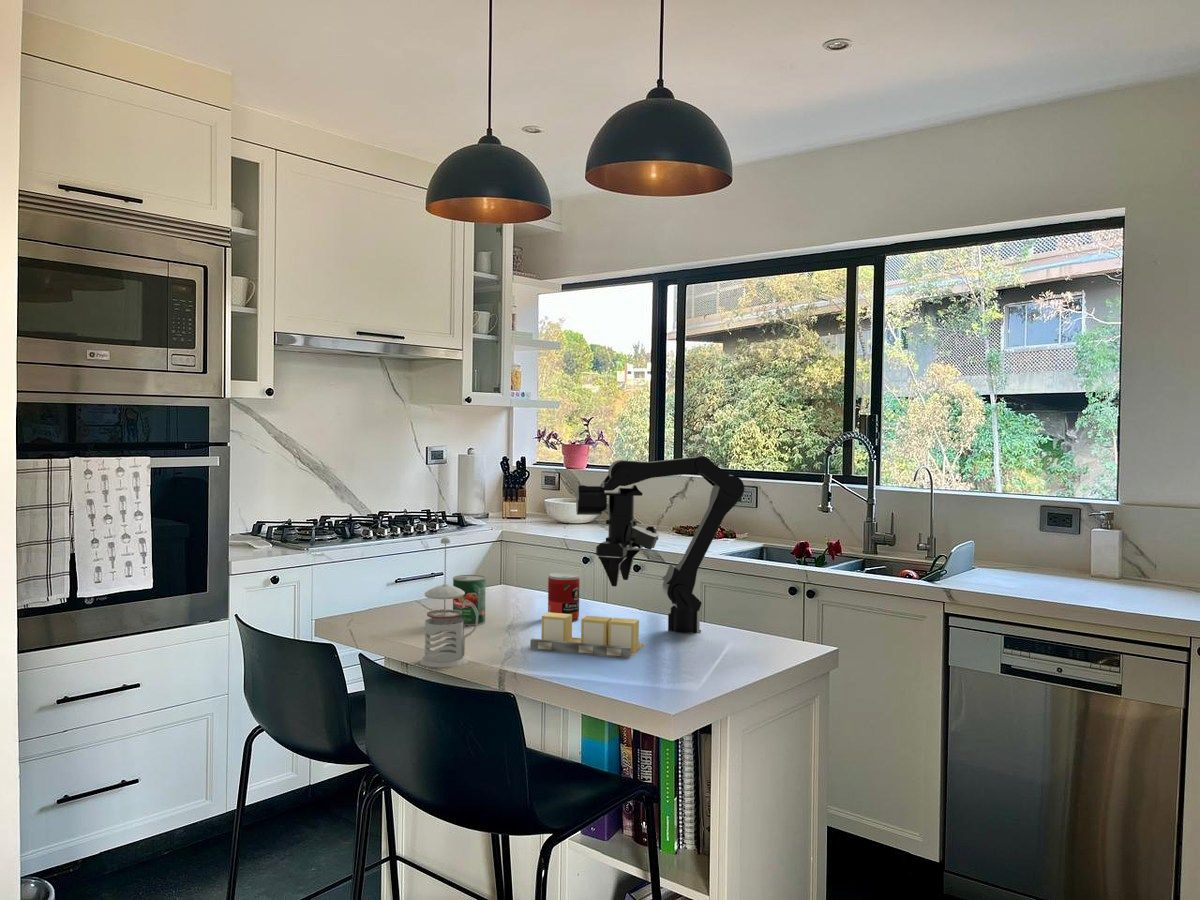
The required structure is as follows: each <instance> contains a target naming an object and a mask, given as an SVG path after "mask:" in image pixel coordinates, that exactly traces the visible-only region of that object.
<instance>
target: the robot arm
mask: <svg viewBox="0 0 1200 900" xmlns="http://www.w3.org/2000/svg"><path fill="white" fill-rule="evenodd" d="M607 473H608V474H607V476H606V477H605V478H604V480H603V481H602V482H601V484H600V485H586V484H585V485H584V484H578V485H577V493H576V495H577V496H576V499H575V506H576V507H575V509H576V511H575V512H576V515H577V516H585V515H586V516H600V515H602V514H603V512H605V511H607V508H608V518H607V519H606V520H605V525H608V531H607V532H608V534H607V535H608V536H607V537H605V541H602V542H600V543H599V544H598V545H596V547H595V548H596V549H595V550H596V551H595V553H596V554H595V556H597V557H598V559H599V560H600V563H601V564H602V567H603V569H604V571H605V573H606V575H607V577H608V581H609V582H610V584H611V586H612V587H617V586H618V582H619V577H620V576H619V575H620V573H621V577H622V579H623V581H628V580H629V578H630V574H631V570H632V566H633V563H634V560H635V559H634V558H635V557H636V556H637V555H638V554H639V553H640V552H641V551H642V549H643V548H644V549H646V550H652V549H655V547H656V544H657V541H658V540H659V535H660V534H659V533H657V527H656V526H653V525H649V526H647V527H646V528H645V527H641V526H638V520H636V518H634V516H635V515H634V510H635V509H634V508H635V507H634V506H635V497H638V496H641V497H642V496H643V492H642V491H641V490H640V489H639V488H638V486H637V485H636V484H637V483H640V482H644V481H647V480H649V479H654V478H663V477H664V478H665V477H671V476H681V475H690V474H699V475H700V477H702V478H703V479H704V480H705V481H706V482H707V483H708V484H709V485H711V486H712V488H711V491H710V496H709V502H708V506H707V508H706V509H707V510H706V511H705V513H704V515H703V517H702V519H701V521H700V523H699V524H698V527H697V529H696V531H695V533H694V535H693V537H692V539H691V541H690V542H689V543H688V547H687V548H686V551H685V553H684V554H683V556H682V558H681V560H680V561H679V562H678V563H677V564H676V565H675V566H674V565H673V564H671V563H670V564H669V565H668V568H667V571H666V574H665V575H664V576H663V577H662V581H663V583H662V590H663V593H664V594H665V596H666V597H667V598H668V599H669V600H670V601H671V604H672V606H671V607H670V612H669V613H668V614H667V617H668V618H667V631H668V632H675V633H680V634H699V635H700V634H701V633H702V630H701V629H700V625H701V624H700V621H701V620H700V619H701V618H700V617H701V616H700V615H701V613H700V612H701V609H700V608H701V606H702V602H701V600H700V599H699V598H698V597H697V596H696V595H694V593H693V591H694V589H695V585H696V582H697V574H698V569H699V568H700V566H701V564H702V561H703V559H704V558H705V556H706V554H707V552H708V550H709V548H710V546H711V544H712V542H713V540H714V538H715V536H716V534H717V532H718V531H719V528H720V526H721V524H722V522H723V520H724V518H725V516H727V514H728V513H729V512H730V511H731V510H732V509H733V508H734V507H735V506H736V504H737V503H738V502H739V500H740V499H741V498H742V496H743V495H744V492H745V490H746V489H745V484H744V482H743V480H742V479H741V478H740V477H738V476H736V475H732V474H729V473H727V472H726V471H725V470H723V469H722V468H721V467H720V466H718V465H717V464H715V463H714V462H713V461H712V460H710V458H709V457H707V456H706V455H696V456H693V457H692V456H691V457H690V456H689V457H682V458H680V457H679V458H674V459H672V458H671V459H665V460H654V461H637V460H625V459H619V460H615V461H613V462H612V463H611V464H610V465H609V468H608V471H607ZM630 485H632V486H631V487H627V486H630ZM617 488H618V489H617ZM616 489H617V491H616V492H615V491H614V490H616ZM606 491H608V492H606ZM612 491H614V492H612ZM607 496H608V498H607ZM607 499H608V501H607ZM607 502H608V503H607ZM607 506H608V507H607Z"/></svg>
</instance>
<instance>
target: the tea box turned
mask: <svg viewBox="0 0 1200 900" xmlns="http://www.w3.org/2000/svg"><path fill="white" fill-rule="evenodd" d="M572 637H573V621H572V614H562V613H550V612H548V611H547V613H545V614H543V615H541V639H543V640H554V641H565V642H572Z"/></svg>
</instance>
